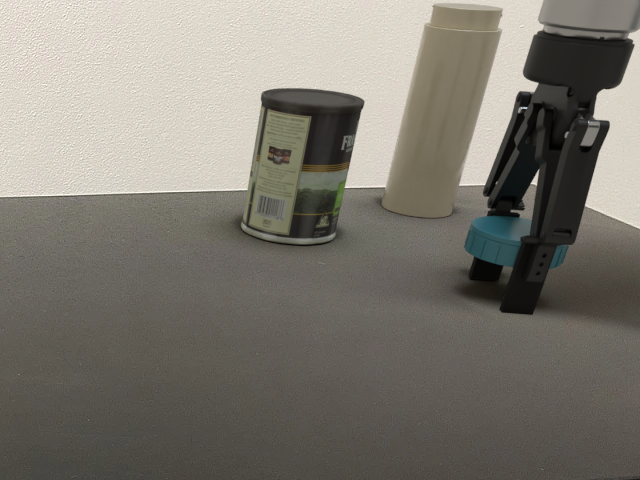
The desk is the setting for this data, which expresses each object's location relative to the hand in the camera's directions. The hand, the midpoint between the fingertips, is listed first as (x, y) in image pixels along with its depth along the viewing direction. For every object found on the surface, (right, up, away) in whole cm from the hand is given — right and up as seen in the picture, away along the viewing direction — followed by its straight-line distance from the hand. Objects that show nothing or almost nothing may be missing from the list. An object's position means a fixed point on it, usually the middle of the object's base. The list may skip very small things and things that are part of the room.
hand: (498, 294), depth 91 cm
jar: (+3, +15, +25) cm, 30 cm away
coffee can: (-15, +10, +16) cm, 24 cm away
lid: (0, +5, -3) cm, 6 cm away
